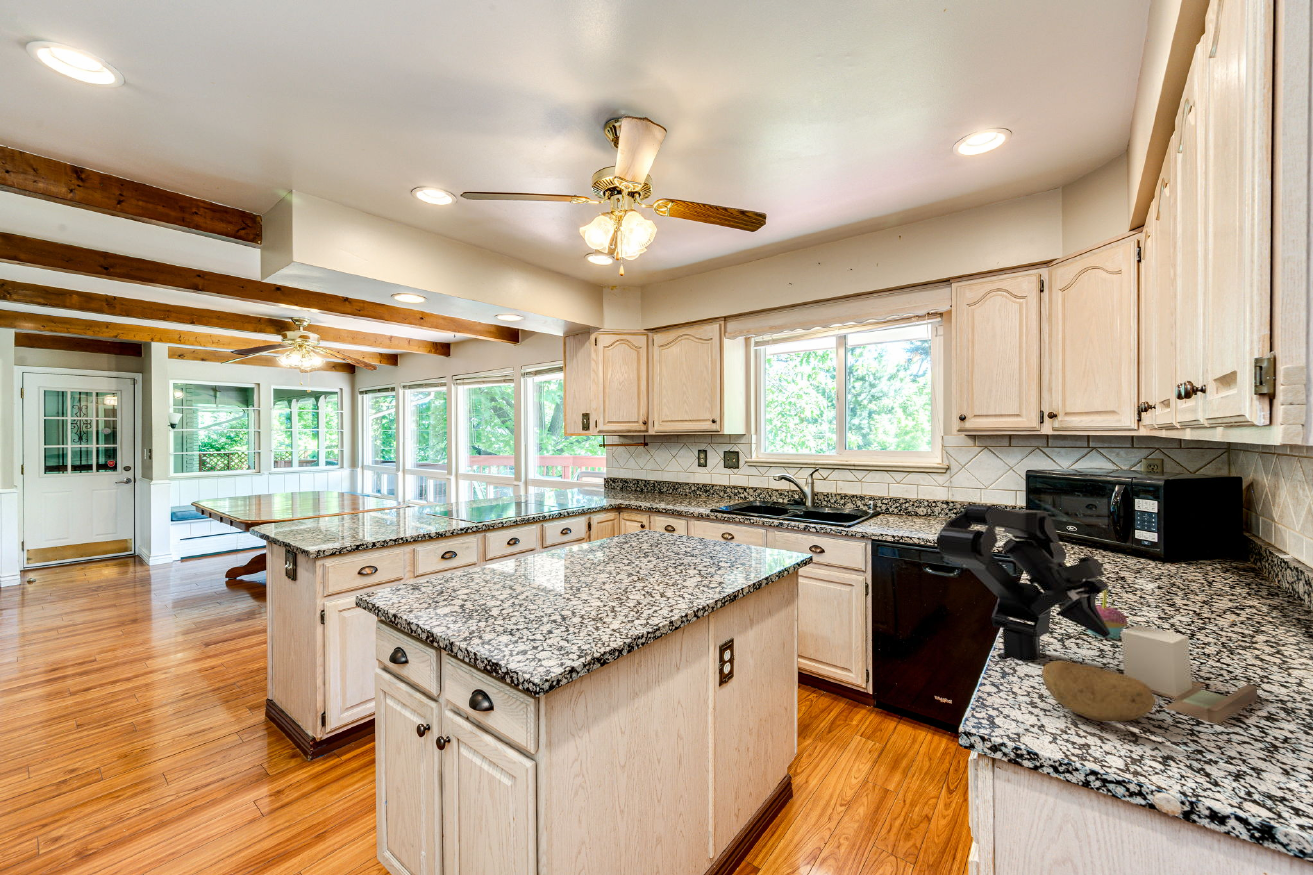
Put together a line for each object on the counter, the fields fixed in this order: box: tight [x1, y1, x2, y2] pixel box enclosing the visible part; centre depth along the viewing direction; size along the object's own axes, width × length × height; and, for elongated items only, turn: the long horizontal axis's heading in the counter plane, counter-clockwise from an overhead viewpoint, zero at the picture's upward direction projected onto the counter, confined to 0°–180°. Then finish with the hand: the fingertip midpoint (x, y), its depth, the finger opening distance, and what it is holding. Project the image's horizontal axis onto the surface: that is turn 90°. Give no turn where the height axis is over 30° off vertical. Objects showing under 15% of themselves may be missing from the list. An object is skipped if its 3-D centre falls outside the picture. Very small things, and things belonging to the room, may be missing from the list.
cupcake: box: [1087, 589, 1128, 640], centre depth 117 cm, size 9×8×12 cm
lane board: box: [1150, 679, 1259, 725], centre depth 90 cm, size 15×16×3 cm
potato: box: [1041, 660, 1156, 723], centre depth 85 cm, size 10×14×8 cm
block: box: [1120, 624, 1192, 697], centre depth 92 cm, size 7×6×9 cm
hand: (1107, 635), depth 99 cm, fingers closed
